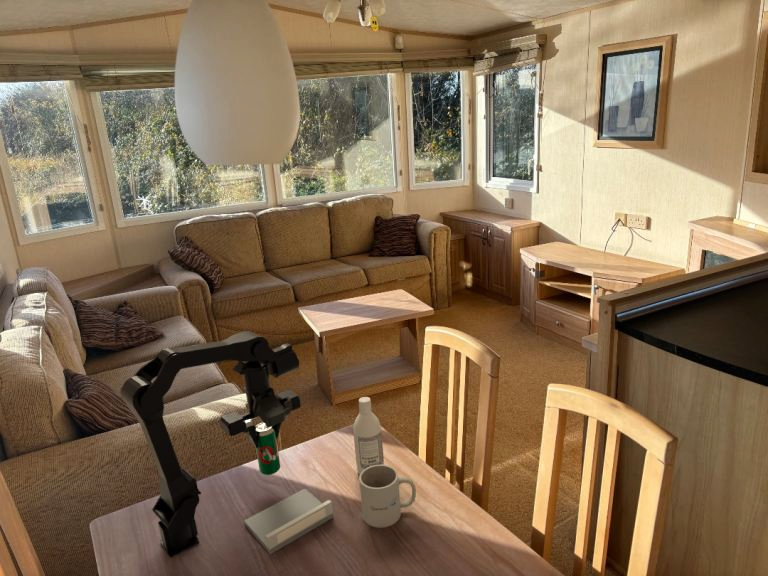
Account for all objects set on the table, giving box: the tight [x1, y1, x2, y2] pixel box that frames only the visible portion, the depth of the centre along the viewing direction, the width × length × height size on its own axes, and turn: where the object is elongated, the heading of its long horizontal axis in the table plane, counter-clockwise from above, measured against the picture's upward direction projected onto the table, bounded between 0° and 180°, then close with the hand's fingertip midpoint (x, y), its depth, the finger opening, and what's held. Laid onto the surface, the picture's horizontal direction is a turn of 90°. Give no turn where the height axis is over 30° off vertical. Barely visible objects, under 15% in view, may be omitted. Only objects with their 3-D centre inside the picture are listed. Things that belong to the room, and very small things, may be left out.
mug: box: [358, 464, 417, 528], centre depth 124 cm, size 12×9×10 cm
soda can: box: [254, 421, 281, 476], centre depth 133 cm, size 5×5×12 cm
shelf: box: [243, 488, 334, 555], centre depth 124 cm, size 16×12×4 cm
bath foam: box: [352, 396, 385, 475], centre depth 138 cm, size 7×7×20 cm
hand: (266, 443), depth 133 cm, fingers closed on soda can, 5 cm apart
